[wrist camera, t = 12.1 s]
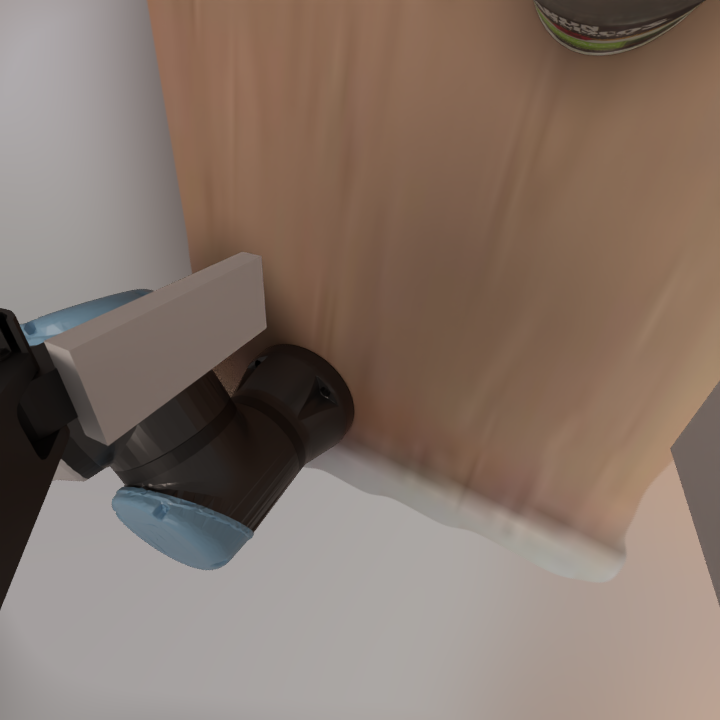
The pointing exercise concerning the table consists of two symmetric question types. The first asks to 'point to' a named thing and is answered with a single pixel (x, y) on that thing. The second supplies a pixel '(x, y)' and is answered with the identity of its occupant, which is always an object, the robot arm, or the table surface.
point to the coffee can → (610, 22)
